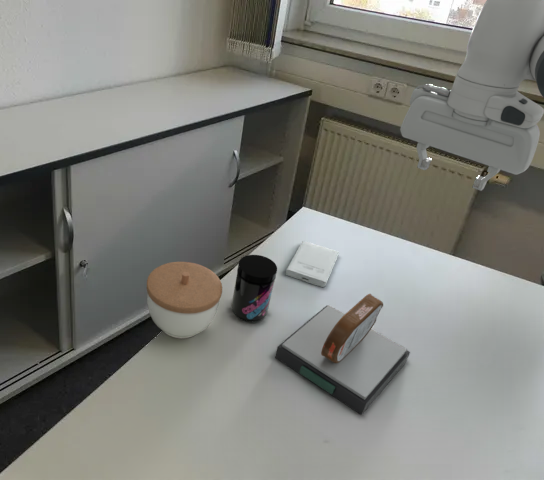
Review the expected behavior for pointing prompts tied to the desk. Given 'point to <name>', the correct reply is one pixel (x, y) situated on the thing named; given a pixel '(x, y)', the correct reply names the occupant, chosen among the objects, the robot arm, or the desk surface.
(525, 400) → the desk surface
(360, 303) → the tin
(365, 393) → the scale
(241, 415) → the desk surface
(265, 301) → the supplement container
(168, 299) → the lidded bowl
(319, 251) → the hard drive
